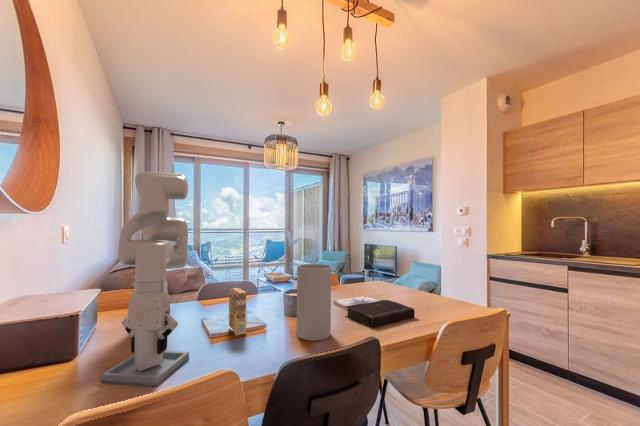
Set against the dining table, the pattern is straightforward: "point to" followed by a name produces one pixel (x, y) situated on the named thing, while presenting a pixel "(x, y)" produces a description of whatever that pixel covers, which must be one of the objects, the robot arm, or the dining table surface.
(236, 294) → the candy box
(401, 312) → the diary
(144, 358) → the skincare box
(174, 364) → the tray
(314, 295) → the cylinder vase
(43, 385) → the dining table surface
